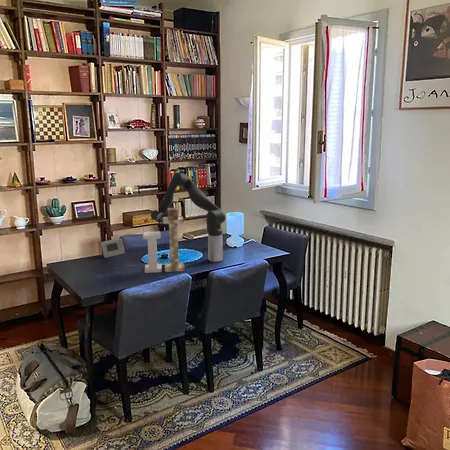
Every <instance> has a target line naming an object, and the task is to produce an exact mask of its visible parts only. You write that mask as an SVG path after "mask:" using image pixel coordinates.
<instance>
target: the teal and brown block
mask: <svg viewBox="0 0 450 450" xmlns="http://www.w3.org/2000/svg"><path fill="white" fill-rule="evenodd" d="M167 214H168V220H178V217H179V209H178V207H169V208H168V211H167Z"/></svg>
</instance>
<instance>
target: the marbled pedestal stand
mask: <svg viewBox="0 0 450 450" xmlns="http://www.w3.org/2000/svg"><path fill="white" fill-rule="evenodd" d="M164 224H168V227H169V228H168V230H169V231H168V232H169V257H170V258H169V262H170V263H164V272H165V273H168V272H169V273H170V272H171V273H172V272H175V273H176V272H185V270H186V269H185V268H186V267H185V263H184V262H180V261H179V260H180V259H179V232H178V231H179V229H178V226H179V225H178V224H184V216H178V220H168V217H163V224H162V225H164Z"/></svg>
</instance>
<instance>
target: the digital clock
mask: <svg viewBox="0 0 450 450" xmlns="http://www.w3.org/2000/svg"><path fill="white" fill-rule="evenodd" d="M100 247H101V250H102V254H103V258H105V259H106V258H113V257H117V256H121V255H124V254H125V253H126V251H125V247H124V243H123V239H122V238H115V239H110V240H109V239H108V240H105V241H101V242H100Z"/></svg>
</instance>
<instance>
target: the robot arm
mask: <svg viewBox="0 0 450 450" xmlns="http://www.w3.org/2000/svg"><path fill="white" fill-rule="evenodd" d="M177 187H179V188H182V189H184V190H185V191H186V192H187V193H188V196H189V199H190V201H191V202H192V203H193V204H194V205H195V206H197V207H198V208H200V209H202V210H204V211H207V213H206V217H205V218H206V231H207V237H208V238H207V244H208V245H207V247H208V248H207V251H208V256H207V258H208V261H210V262H212V263H215V262H222V261H223V260H224V246H223V229H221V228H218V227H217V225H220V224H223V223H224V222H225V220H226V215H225V212H224V211H223V210H222V209H221V208H219V206H217V205H216V204H214V202H212V200H210V199H209V198H208V197H207V196H206V194H205V193H204V192H203V191H202V190H201V189H200V188H199V187H198V186H196V184H195V183H194V182H193V181H192V179H191V178H190V176H189V175H188V174H185V173H184V172H179V171H178V172H175V173H174V174H173V175H172V177H171V180H170V182H169V185H168V186H167V189H166V192H165V194H164V195H163V198H162V200H160V203H159V204H158V208H159V210H161V211H162V212H161V211H159V210H158V209H154V210H152V211H151V213H150V218H151V220H153V221H156V222H157V223H159V224H162V225H164V226H167V225H168V226H169V224H163V217H168V208H171V206H172V204H173V201H174V194H175V191H176V189H177Z"/></svg>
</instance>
